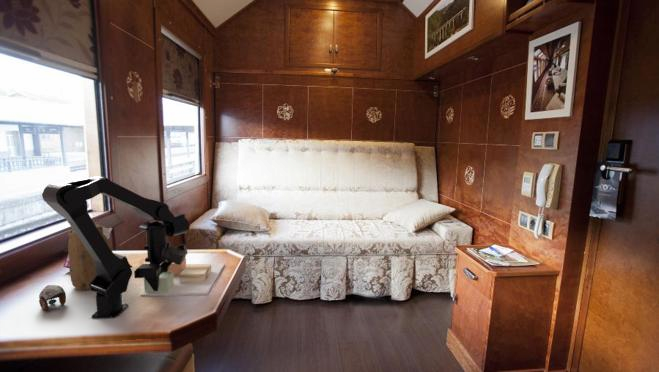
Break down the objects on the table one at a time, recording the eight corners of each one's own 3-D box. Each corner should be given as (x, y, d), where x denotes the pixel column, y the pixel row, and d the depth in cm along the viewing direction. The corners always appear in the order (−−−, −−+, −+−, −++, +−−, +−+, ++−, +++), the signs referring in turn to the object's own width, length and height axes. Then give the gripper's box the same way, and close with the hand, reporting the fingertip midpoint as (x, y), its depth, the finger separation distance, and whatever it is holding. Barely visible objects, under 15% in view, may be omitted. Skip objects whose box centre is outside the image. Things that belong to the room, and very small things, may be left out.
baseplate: (207, 294, 102) (207, 293, 102) (140, 296, 100) (140, 294, 100) (224, 265, 125) (224, 263, 125) (171, 265, 123) (171, 264, 123)
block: (82, 293, 100) (76, 231, 97) (68, 288, 104) (62, 228, 101) (117, 280, 110) (113, 223, 107) (104, 275, 113) (99, 220, 110)
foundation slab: (204, 282, 109) (203, 274, 108) (179, 283, 108) (179, 274, 108) (211, 271, 118) (211, 263, 117) (188, 272, 117) (188, 264, 116)
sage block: (167, 291, 102) (167, 278, 101) (144, 291, 101) (143, 278, 101) (173, 284, 107) (173, 271, 106) (151, 284, 106) (151, 271, 106)
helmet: (61, 305, 96) (53, 283, 96) (75, 300, 92) (67, 277, 92) (37, 315, 90) (29, 292, 90) (51, 310, 87) (42, 286, 87)
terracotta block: (181, 275, 114) (180, 263, 113) (160, 275, 113) (160, 263, 112) (186, 269, 119) (185, 258, 118) (166, 270, 118) (166, 258, 117)
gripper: (172, 250, 93) (174, 300, 96) (192, 232, 112) (194, 274, 114) (131, 250, 92) (135, 301, 94) (159, 232, 111) (161, 274, 113)
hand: (159, 286), depth 104 cm, fingers closed on sage block, 5 cm apart
